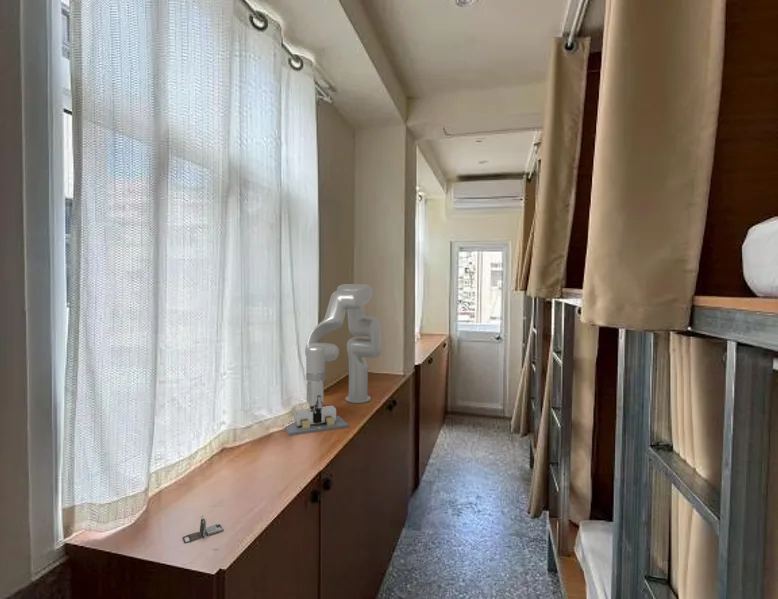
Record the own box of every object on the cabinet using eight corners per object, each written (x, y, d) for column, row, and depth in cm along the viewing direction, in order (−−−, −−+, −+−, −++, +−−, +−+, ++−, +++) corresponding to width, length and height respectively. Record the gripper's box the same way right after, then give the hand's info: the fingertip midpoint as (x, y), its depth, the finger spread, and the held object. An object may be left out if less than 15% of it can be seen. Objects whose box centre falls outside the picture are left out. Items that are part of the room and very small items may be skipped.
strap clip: (221, 526, 100) (221, 508, 100) (224, 532, 97) (224, 514, 97) (181, 539, 95) (181, 520, 95) (184, 545, 92) (184, 526, 92)
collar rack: (282, 425, 171) (282, 415, 171) (338, 417, 181) (338, 408, 181) (289, 435, 159) (289, 425, 159) (348, 427, 169) (348, 417, 169)
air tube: (294, 422, 169) (294, 410, 169) (332, 417, 176) (332, 405, 176) (297, 426, 165) (297, 413, 164) (336, 420, 171) (336, 408, 171)
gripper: (301, 373, 176) (301, 415, 176) (311, 381, 160) (311, 428, 161) (318, 371, 179) (318, 413, 180) (330, 379, 164) (330, 425, 164)
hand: (315, 420), depth 170 cm, fingers closed on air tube, 5 cm apart
